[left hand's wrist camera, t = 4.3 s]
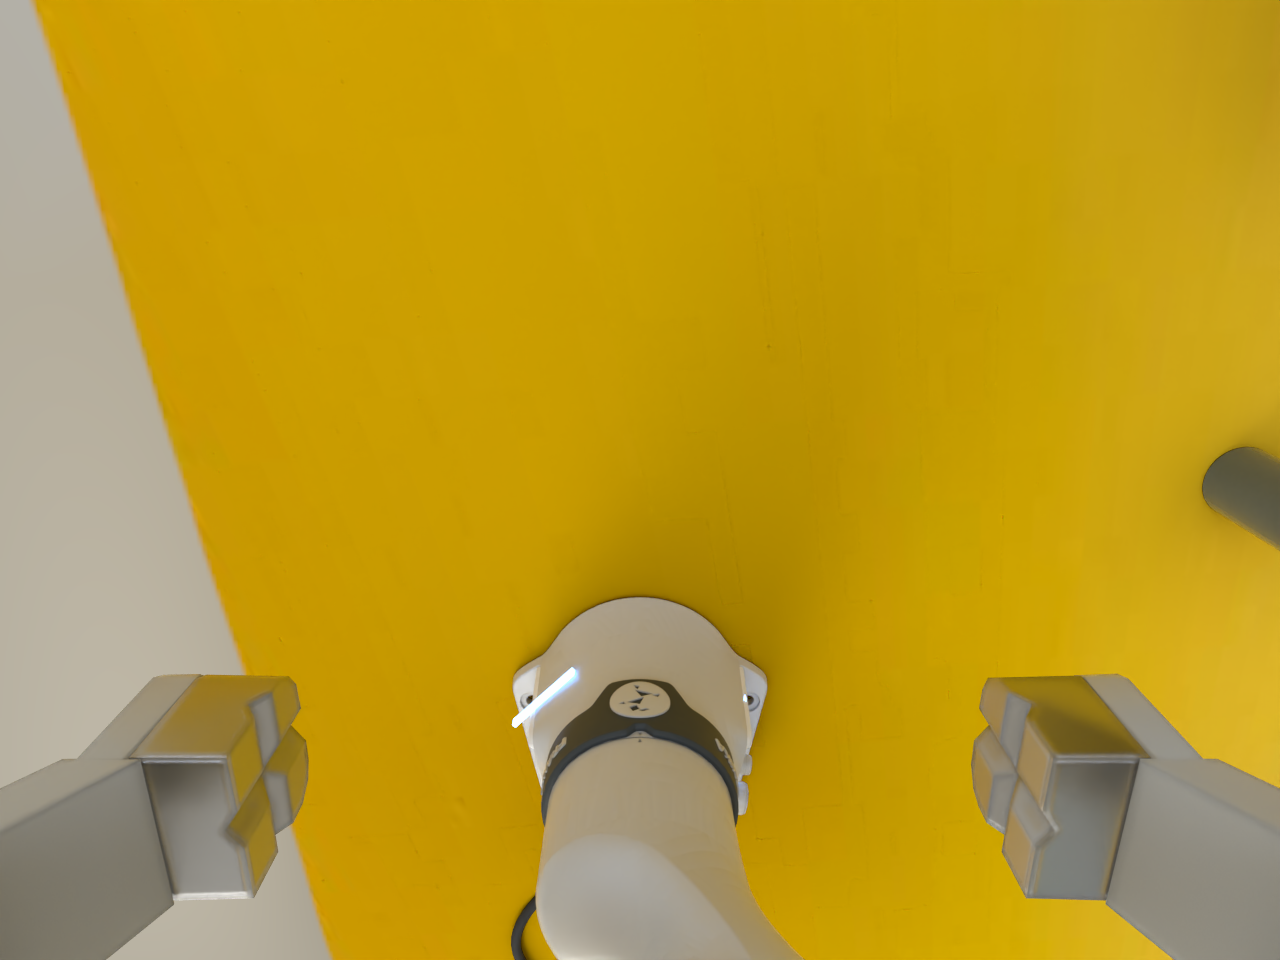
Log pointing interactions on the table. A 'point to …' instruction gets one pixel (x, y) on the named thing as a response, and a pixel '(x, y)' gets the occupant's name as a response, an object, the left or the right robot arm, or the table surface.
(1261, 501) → the jar
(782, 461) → the table surface
